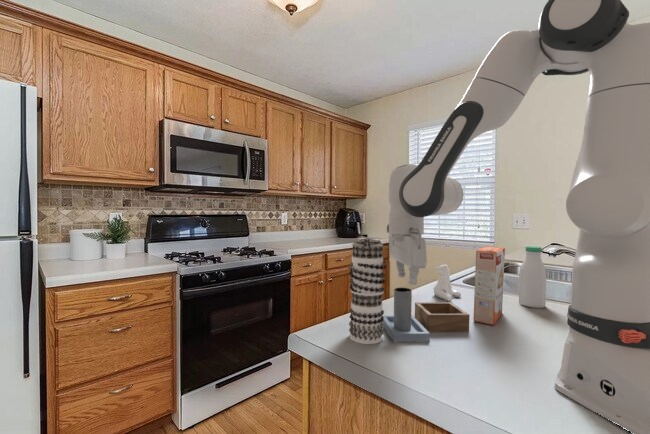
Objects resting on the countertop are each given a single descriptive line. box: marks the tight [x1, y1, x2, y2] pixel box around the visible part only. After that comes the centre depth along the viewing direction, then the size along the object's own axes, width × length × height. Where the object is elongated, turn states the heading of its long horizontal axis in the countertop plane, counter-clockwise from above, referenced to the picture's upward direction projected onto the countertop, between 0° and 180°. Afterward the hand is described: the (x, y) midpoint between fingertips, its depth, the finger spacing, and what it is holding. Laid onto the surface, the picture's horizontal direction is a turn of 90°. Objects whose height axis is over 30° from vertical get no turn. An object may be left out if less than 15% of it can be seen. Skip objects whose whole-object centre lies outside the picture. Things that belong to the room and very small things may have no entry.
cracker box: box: [473, 246, 506, 326], centre depth 96 cm, size 14×6×21 cm, turn 143°
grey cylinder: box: [393, 287, 413, 331], centre depth 85 cm, size 4×4×10 cm
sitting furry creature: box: [433, 263, 462, 302], centre depth 118 cm, size 10×9×12 cm
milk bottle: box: [518, 245, 547, 309], centre depth 109 cm, size 8×8×20 cm
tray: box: [382, 314, 431, 343], centre depth 85 cm, size 13×9×2 cm
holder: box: [414, 301, 470, 333], centre depth 90 cm, size 11×11×4 cm
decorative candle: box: [348, 237, 387, 345], centre depth 80 cm, size 9×9×25 cm
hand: (406, 280), depth 84 cm, fingers open, 8 cm apart
